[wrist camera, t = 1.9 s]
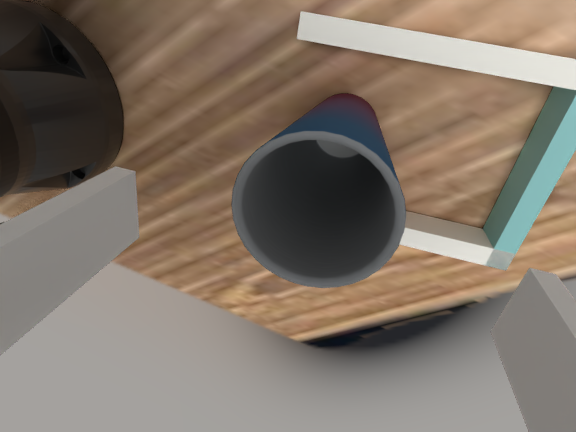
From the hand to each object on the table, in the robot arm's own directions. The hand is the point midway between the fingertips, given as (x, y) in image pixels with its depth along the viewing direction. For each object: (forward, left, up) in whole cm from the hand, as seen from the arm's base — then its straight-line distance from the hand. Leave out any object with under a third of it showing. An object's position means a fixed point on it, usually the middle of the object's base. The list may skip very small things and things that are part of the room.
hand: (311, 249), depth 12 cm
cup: (0, 0, -17) cm, 17 cm away
